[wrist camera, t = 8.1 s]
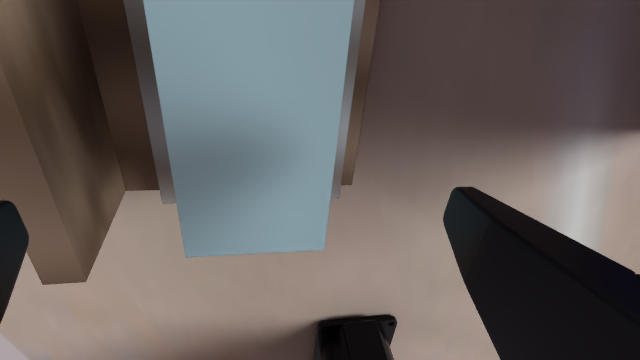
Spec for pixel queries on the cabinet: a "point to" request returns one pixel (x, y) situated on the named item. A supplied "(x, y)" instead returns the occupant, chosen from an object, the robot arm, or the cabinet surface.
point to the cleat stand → (105, 121)
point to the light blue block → (251, 118)
